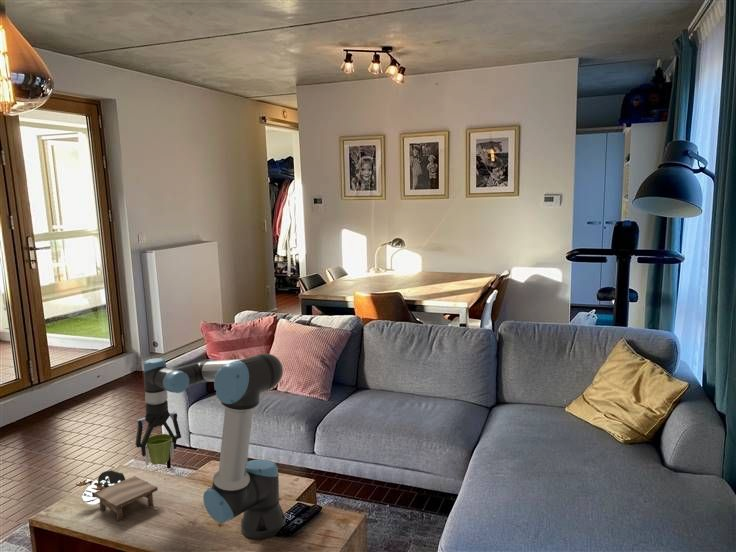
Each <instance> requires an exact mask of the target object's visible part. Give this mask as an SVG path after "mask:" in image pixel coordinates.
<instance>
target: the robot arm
mask: <svg viewBox="0 0 736 552" xmlns="http://www.w3.org/2000/svg"><path fill="white" fill-rule="evenodd" d="M283 368H284V367H283V365H282V363H281V360H280V359H279V358H278V357H277V356H275V355H273V354H271V353H260V354H255V355H253V356H250V357H246V358H238V359H222V360H221V359H220V360H217V359H216V360H215V359H212V358H210V359H203V360H200V361H198V362H193V363H191V364H186V365H181V366H179V367H175V368H171V367H167V362H166V360H165V358H162V357H161V358H160V357H157V358H155V357H154V358H150V359H147V360H145V361H144V362H143V371H142V372H143V382H144V385H143V386H144V397H145V398H144V399H145V416H144V417H142V418H137V419H136V421H137V431H136V437H135V446H136V448H140V450H141V451H140V452H141V456H142V457H144V463H145V466H148V465H150V464H149V450H148V447H147V444H146V443H147V442H148V439H149V437H151V434H152V431H153V430H154V428H156V427H162V426H164V428H165V430H166V431H167V434H169V435H170V436H171V437H172V440H171V443H170V452H169V457H170V458H171V459H172V460H174V459H175V451H174V450H176V449H177V440H178V439H181V438H182V434H181V431H180V426H179V422H178V413H177V412H176V411H173V412H170V411H169V404H168V403H169V402H168V392H169V393H174V394H180V393H183V392H184V391H185V390H187V388H188V387H190V386H193V385H196V384H200V383H209V382H211V383H212V382H213V386H214V389H213V390H214V391H216V392H215V395H216V397H217V399H218V400H219V401H220V403H221V405H222V407H224V413H223V414H224V418H223V425H222V436H221V444H220V456H219V464H218V471H216V473H214V475H213V477H212V484H211V487H208V488H207V489H206V490H205V491H204V493H203V505H204V508H205V510H206V512H207V513H208V515H209V516H210V518H211V519H212V520H213V521H215V522H216V523H219V524H224V523H227V522H229V521H232V520H233V519H235V518H236V517H238V516H240V515H242V514H243V515H242V516H243V517H242V518H241V520H240V521H241V522H240V531H241V533H242V535H243V536H245V537H246V538H250V539H254V540H263V539H268V538H269V539H270V538H272V537H274V536H276V535H277V534H276V533H277V532H278V531H279V530H280V529H281V528H282V527H283V525H284V523H285V524H286V516H285V514H284V511H283V508H282V506H281V504H280V491H279V490H280V489H279V488H280V487H279V485H280V484H279V483H280V482H279V475H280V474H279V469H278V465H277V463H276V462H274V461H272V460H269V459H264V458H263V459H262V458H261V459H260V458H259V459H253V460H248V457H249V449H250V440H251V434H252V433H251V432H252V423H253V414H254V409H255V408H257V407H258V405H259V404H260V396H261V393H263V392H267V391H269V390H271V389H273V388H275V386H277V385H278V384H279V383H280V381H281V380H282V377H283V372H284V370H283ZM169 418H170V419H171V420H172V424H173V427H174V432H175V435H174V432H173V431H172V430H171V428H170V426H169V425H168V423H167V421H168V419H169ZM145 422H147V428H146V430H145V433H144V435H143V428H144V426H145V425H144V424H145ZM142 435H143V439H142Z"/></svg>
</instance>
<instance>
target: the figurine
mask: <svg viewBox="0 0 736 552" xmlns="http://www.w3.org/2000/svg"><path fill="white" fill-rule="evenodd" d="M124 480H126V477H125V474H124V473H123V472H119V471H114V470H111V469H110V470H107V471H103V472H101V473H100V474H99V476H98V478H97V479H95V480H91V479H90V478H87V479H86V480H83V482H81V481H80V482H79V483H75V486H77V487H83V486H87V485H88V484H89V485H88V486H87V488H86V489H85V490H84V491H83V493H82V494H81V499H82V501H83V503H85V504H88V505H91V506H92V505H97V504H100V499H99V498H97V497H95V496H94V493H95V492H97V491H99V490H102V489H104V488H107V487H109V486H112V485H114V484H116V483H119V482H121V481H124Z"/></svg>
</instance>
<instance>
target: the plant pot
mask: <svg viewBox="0 0 736 552" xmlns="http://www.w3.org/2000/svg"><path fill="white" fill-rule="evenodd" d="M171 440H172V437H171V436H170V435H169V433H159V434H154V435H150V437H149V439H148V442H147V443H146V445H147V447H148V455H149V458H150V462H151V464H152V465H156V466H157V465H163V464H166V463H167V462H169V459H170V443H171Z"/></svg>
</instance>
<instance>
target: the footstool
mask: <svg viewBox="0 0 736 552" xmlns="http://www.w3.org/2000/svg"><path fill="white" fill-rule="evenodd" d="M157 491H158V487H157V486H155V485H153V484H152V483H150V482H148V481H145V480H143V479H142V478H140V477H138V476H135V475H134V476H131V477H129V478H125V480H124V481H121V482H119V483H116V484H114V485H112V486H109V487H107V488H104V489H102V490H99V491H97V492H95V493H94V496H95V497H97V498H99V499H100V502H99V507H100V508H99V509H100V512H105V511H106V510H107V508H108V509H109V510H111V511H113V512H115V513H116V521H117V522H121V521H123V507H124V506H126V505H128V504H131V503H133V502H135V501H136V500H139V499H142V498H143V497H144V498H146V499H147V507H148V506H149V507H148V508H151V506H152V507H153V506H154V495H153V493H156V492H157Z"/></svg>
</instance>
